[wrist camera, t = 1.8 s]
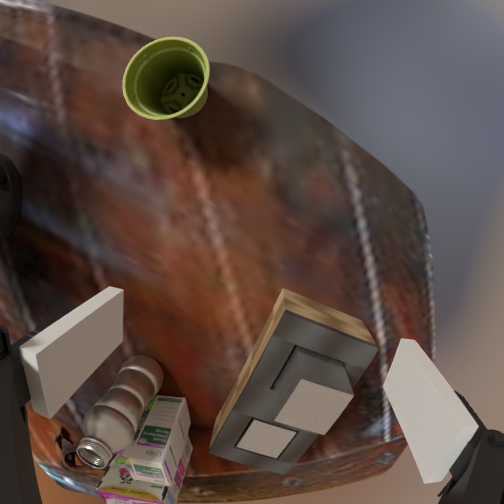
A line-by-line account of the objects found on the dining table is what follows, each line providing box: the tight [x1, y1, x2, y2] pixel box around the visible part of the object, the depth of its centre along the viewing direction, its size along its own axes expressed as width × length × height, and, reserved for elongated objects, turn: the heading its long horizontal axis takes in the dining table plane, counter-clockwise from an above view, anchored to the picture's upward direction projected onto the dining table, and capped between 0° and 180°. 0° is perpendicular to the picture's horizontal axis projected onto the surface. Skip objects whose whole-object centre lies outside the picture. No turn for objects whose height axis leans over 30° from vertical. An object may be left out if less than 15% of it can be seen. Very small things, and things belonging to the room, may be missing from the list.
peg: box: [274, 344, 354, 435], centre depth 33 cm, size 6×6×8 cm
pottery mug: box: [55, 426, 92, 471], centre depth 49 cm, size 12×9×8 cm
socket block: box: [208, 288, 379, 475], centre depth 40 cm, size 12×25×8 cm, turn 157°
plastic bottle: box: [77, 355, 164, 469], centre depth 35 cm, size 6×7×20 cm
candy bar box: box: [96, 433, 193, 504], centre depth 41 cm, size 11×5×16 cm, turn 98°
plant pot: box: [123, 37, 210, 120], centre depth 32 cm, size 9×9×9 cm
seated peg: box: [237, 417, 297, 458], centre depth 41 cm, size 6×6×8 cm
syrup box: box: [123, 395, 191, 486], centre depth 40 cm, size 6×6×14 cm
